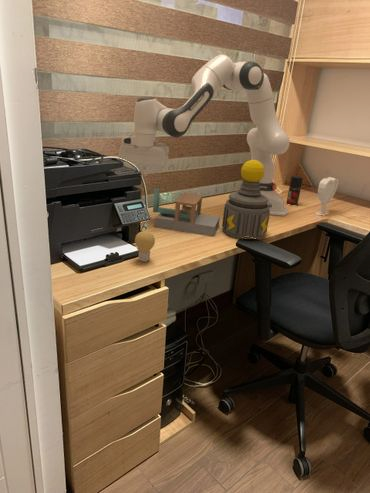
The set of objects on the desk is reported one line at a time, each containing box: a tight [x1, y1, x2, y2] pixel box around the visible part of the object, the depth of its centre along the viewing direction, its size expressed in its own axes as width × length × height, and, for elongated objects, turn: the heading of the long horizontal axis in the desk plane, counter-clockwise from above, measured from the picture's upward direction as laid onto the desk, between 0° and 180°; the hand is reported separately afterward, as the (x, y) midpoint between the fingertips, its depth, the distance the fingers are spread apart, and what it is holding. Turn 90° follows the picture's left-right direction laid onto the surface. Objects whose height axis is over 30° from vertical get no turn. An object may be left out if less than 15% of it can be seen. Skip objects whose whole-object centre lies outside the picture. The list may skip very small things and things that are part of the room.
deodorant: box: [286, 175, 304, 206], centre depth 202 cm, size 6×6×15 cm
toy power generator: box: [221, 159, 270, 240], centre depth 152 cm, size 19×19×30 cm
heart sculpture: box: [315, 176, 339, 216], centre depth 191 cm, size 16×5×18 cm, turn 137°
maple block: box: [183, 205, 192, 214], centre depth 157 cm, size 4×4×4 cm
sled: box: [152, 187, 198, 219], centre depth 157 cm, size 19×7×10 cm, turn 77°
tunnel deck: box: [154, 192, 221, 237], centre depth 157 cm, size 24×14×12 cm, turn 77°
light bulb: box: [134, 230, 156, 262], centre depth 123 cm, size 6×6×10 cm
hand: (142, 175), depth 156 cm, fingers closed
